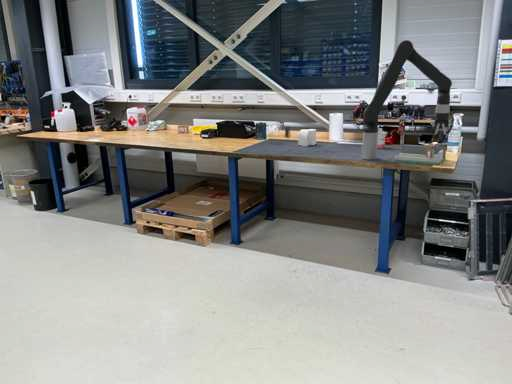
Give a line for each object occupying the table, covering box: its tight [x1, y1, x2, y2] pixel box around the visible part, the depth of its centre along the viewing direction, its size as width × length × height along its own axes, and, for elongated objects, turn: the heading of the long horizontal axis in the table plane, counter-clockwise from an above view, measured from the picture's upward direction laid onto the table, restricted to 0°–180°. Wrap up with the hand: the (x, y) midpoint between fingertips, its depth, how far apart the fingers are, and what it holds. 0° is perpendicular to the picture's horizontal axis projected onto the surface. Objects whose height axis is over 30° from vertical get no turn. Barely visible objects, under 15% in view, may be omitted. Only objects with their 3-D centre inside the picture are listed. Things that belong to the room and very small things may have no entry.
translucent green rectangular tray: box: [393, 144, 447, 166], centre depth 253 cm, size 26×19×8 cm
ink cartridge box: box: [377, 127, 386, 149], centre depth 300 cm, size 9×5×15 cm, turn 47°
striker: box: [425, 130, 455, 158], centre depth 246 cm, size 13×15×16 cm
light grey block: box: [297, 128, 317, 147], centre depth 323 cm, size 11×11×12 cm
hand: (440, 140), depth 251 cm, fingers closed on striker, 3 cm apart
